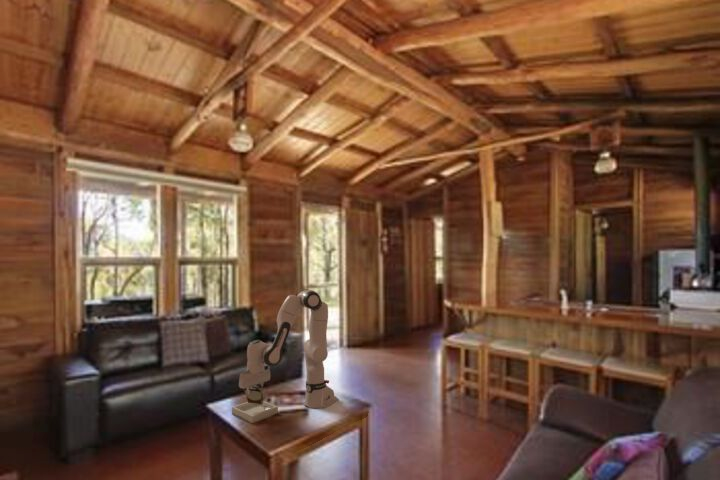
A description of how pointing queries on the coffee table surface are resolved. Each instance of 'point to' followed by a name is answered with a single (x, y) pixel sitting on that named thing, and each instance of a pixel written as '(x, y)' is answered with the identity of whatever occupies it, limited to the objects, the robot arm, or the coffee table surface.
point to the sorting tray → (254, 411)
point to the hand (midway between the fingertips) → (254, 391)
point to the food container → (255, 394)
